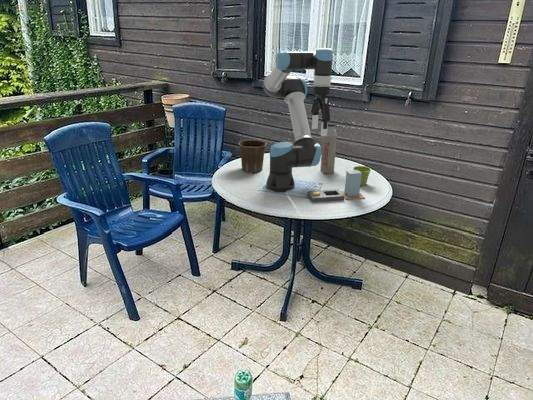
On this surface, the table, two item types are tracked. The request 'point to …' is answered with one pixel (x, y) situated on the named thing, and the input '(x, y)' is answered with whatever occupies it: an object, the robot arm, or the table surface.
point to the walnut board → (353, 196)
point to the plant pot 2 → (363, 173)
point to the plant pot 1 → (252, 155)
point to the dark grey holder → (325, 195)
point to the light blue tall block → (352, 183)
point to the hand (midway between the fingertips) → (319, 132)
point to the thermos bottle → (328, 150)
